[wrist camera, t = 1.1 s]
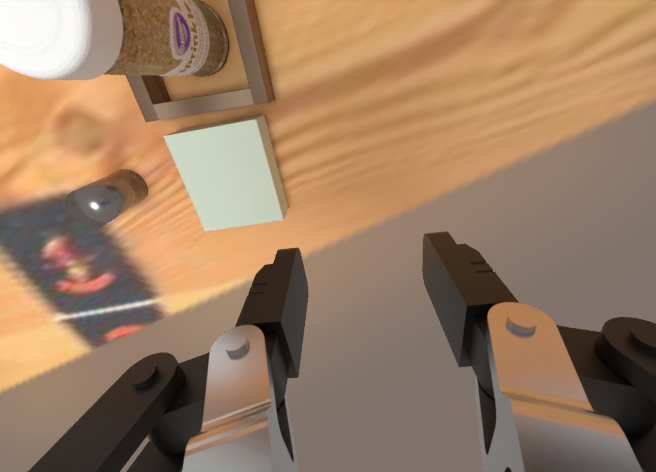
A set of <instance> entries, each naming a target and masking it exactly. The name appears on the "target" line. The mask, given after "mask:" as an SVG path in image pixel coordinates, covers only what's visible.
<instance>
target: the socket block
mask: <svg viewBox="0 0 656 472" xmlns="http://www.w3.org/2000/svg"><path fill="white" fill-rule="evenodd" d="M228 3H229V7H230V11H231V15H232V19H233V23H234V27H235V31H236V35H237V39H238V43H239V47H240V51H241V55H242V59H243V63H244V67H245V71H246V75H247V79H248V83H249V87H250V88H249V89H243V90H237V91H231V92H225V93H219V94H213V95H207V96H201V97H195V98H189V99H183V100H177V101H170V98H169V95H168V93H167V90H166V87H165V85H164V82H163V80H162V77H161V76H158V75H126V77H127V80H128V82H129V84H130V87H131V89H132V91H133V94H134V96H135V98H136V100H137V103H138V105H139V107H140V110H141V112H142V114H143V117H144V119H145V121H146V122H149V121H156V120H162V119H168V118H174V117H181V116H187V115H193V114H199V113H205V112H212V111H218V110H224V109H230V108H237V107H243V106H249V105H255V104H262V103H268V102H270V101H273V100H275V98H274V93H273V88H272V84H271V79H270V74H269V70H268V65H267V60H266V56H265V51H264V46H263V42H262V37H261V32H260V28H259V23H258V18H257V14H256V9H255V4H254V0H228Z"/></svg>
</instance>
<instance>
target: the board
mask: <svg viewBox="0 0 656 472" xmlns="http://www.w3.org/2000/svg"><path fill="white" fill-rule="evenodd" d="M164 139H165V141H166V143H167V145H168V148H169V150H170V152H171V155H172V157H173V159H174V161H175V164H176V166H177V168H178V171H179V173H180V175H181V177H182V180H183V182H184V184H185V187H186V189H187V191H188V193H189V196H190V198H191V200H192V203H193V205H194V207H195V209H196V212H197V214H198V216H199V219H200V221H201V223H202V226H203V228H204V230H205V231H212V230H219V229H225V228H232V227H239V226H246V225H253V224H260V223H267V222H273V221H280V220H284V218H285V215H286V212H287V209H288V204H287V201H286V197H285V193H284V189H283V185H282V181H281V178H280V174H279V170H278V166H277V162H276V158H275V155H274V151H273V147H272V143H271V139H270V135H269V132H268V128H267V124H266V120H265V116H264V115H258V116H253V117H248V118H242V119H237V120H231V121H226V122H221V123H215V124H210V125H205V126H199V127H194V128H188V129H183V130H179V131H176V132H174V133H171V134H168V135H165V136H164Z"/></svg>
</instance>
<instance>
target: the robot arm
mask: <svg viewBox="0 0 656 472" xmlns="http://www.w3.org/2000/svg"><path fill="white" fill-rule="evenodd" d="M423 279H424V284H425V287H426V289H427V292H428V294H429V296H430V299H431V301H432V304H433V306H434V309H435V311H436V313H437V316H438V318H439V320H440V323H441V325H442V328H443V330H444V332H445V335H446V337H447V340H448V342H449V344H450V347H451V349H452V351H453V354H454V356H455V359H456V361H457V363H458V366H459V367H467V366H472V367H473V370H474V372H475V374H476V382H475V393H476V402H477V413H478V423H479V433H480V443H481V451H482V472H656V324H655V323H652V322H649V321H645V320H642V319H637V318H629V317H619V318H613V319H610V320H608V321H607V322H606V323H605V324H604V326H603V328H602V330H601V332H595V331H589V330H582V329H575V328H568V327H563V326H558V325H556V324H555V323H554V322H553V321H552V319H551V318H550V317H548V316H547V315H546V314H545V313H543V312H542V311H540V310H538V309H536V308H534V307H532V306H529V305H525V304H522V303H519V302H518V301H517V299H516V298H515V297H514V296H513V294H512V293H511V292H510V291H509V289H508V288H507V287H506V286H505V284H504V283H503V282H502V281H501V280H500V278H499V277H498V276H497V275H496V273H495V272H493V269H492V268H491V267H490V266H489V264H488V263H486V261H485V259H484V258H483V257H482V256H481V254H480V253H479V252H478V251H477V250H475V249H473V248H471V247H469V246H468V245H466V244H459V245H457V244H456V243H455V241H454V240H453V238H452V237H451V235H450V234H449V233H448V232H437V233H429V234H424V238H423ZM307 302H308V285H307V279H306V274H305V270H304V265H303V261H302V257H301V253H300V250H299V248H290V249H281V250H278V251H277V254H276V257H275V260H274V263H273V264H268V265H264V266H263V268H262V269H261V270H260V271H259V272H258V273H257V274H256V276H255V278H254V281H253V283H252V287H251V288H250V291H249V295H248V296H247V298H246V301H245V303H244V306H243V309H242V311H241V314H240V316H239V319H238V321H237V324H236V326H235V328H232V329H230V330H228V331H227V332H225V333H224V334H222V335H221V336H220V337H219V338H218V339H217V340H216V341H215V343H214V344H213V346H212V348H211V350H210V352H209V353H207V354H205V355H202V356H199V357H196V358H193V359H190V360H187V361H185V362H182V363H178V362H177V360H176V358H175V357H174V356H173V355H172V354H169V353H157V354H153V355H150V356H148V357H145V358H143V359H142V360H140V361H138V362H137V363H135V364H134V365H133V366H131V367H130V368H129V369H128V370H127V371H126V372H125V373H124V374H123V375H122V376H121V377H120V378H119V379H118V380H117V381H116V382H115V383H114V384H113V385H112V386H111V387H110V388H109V389H108V390H107V391H106V392H105V393H104V394H103V395H102V396H101V397H100V398H99V400H98V401H97V402H96V403H95V404H94V405H93V406H92V407H91V408H90V409H89V410H88V411H87V412H86V413H85V414H84V415H83V416H82V417H81V418H80V419H79V420H78V421H77V422H76V423H75V424H74V425H73V426H72V427H71V428H70V429H69V430H68V431H67V432H66V433H65V434H64V435H63V436H62V437H61V438H60V439H59V441H57V443H55V444H54V446H53V447H52V448H51V449H50V450H49V451H48V452H47V453H46V454H45V455H44V456H43V457H42V458H41V459H40V460H39V461H38V462H37V463H36V464H35V465H34V466H33V467H32V468H31V469H30V470H29V471H28V472H120V470H121V469H122V468H123V467H124V465H125V464H126V463H127V461H128V460H129V459H130V457H131V456H132V455H133V454H134V452H135V451H136V450H137V448H138V447H139V445H140V444H141V443H142V442H143V440H144V439H145V438H146V436H147V437H148V439H149V440H150V441H149V442H148V444H147V445H146V446H145V448H144V449H143V450H142V452H141V453H140V455H139V456H138V457H137V458H136V460H135V461H134V463H133V464H132V465H131V466H130V468H129V469H128V471H127V472H299V469H298V464H297V458H296V453H295V446H294V440H293V433H292V428H291V421H290V415H289V409H288V403H287V397H286V394H285V391H286V384H287V378H297V377H298V375H299V368H300V360H301V351H302V343H303V335H304V327H305V319H306V310H307Z"/></svg>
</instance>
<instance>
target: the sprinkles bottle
mask: <svg viewBox="0 0 656 472" xmlns="http://www.w3.org/2000/svg"><path fill="white" fill-rule="evenodd" d="M227 52H228V39H227V33H226V30H225V28H224V26H223V24H222V22H221V20H220V18H219V16H218V15H217V14H216V13H215V12H214V10H213V9H212V8H211V7H209V6H208V5H207V4H205V3H204V2H202V1H200V0H0V64H2V65H4V66H5V67H7V68H9V69H11V70H13V71H15V72H18V73H21V74H23V75H26V76H29V77H33V78H38V79H47V80H88V79H93V78H96V77H99V76H101V75H103V74H110V75H158V76H187V75H195V76H200V77H203V76H210V75H212V74H214V73H215V72H217V71H218V70H219V69H220V68H221V67H222V66H223V64H224V62H225V58H226V56H227Z"/></svg>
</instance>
